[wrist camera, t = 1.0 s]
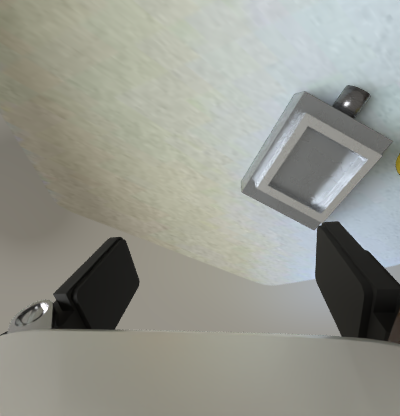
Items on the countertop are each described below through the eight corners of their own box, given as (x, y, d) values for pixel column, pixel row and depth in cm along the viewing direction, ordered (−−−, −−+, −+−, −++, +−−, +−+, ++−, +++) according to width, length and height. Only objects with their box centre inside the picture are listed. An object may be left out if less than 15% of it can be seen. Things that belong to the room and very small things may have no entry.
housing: (308, 70, 28) (329, 59, 22) (387, 115, 29) (429, 116, 23) (240, 181, 36) (241, 197, 29) (304, 215, 36) (318, 237, 30)
